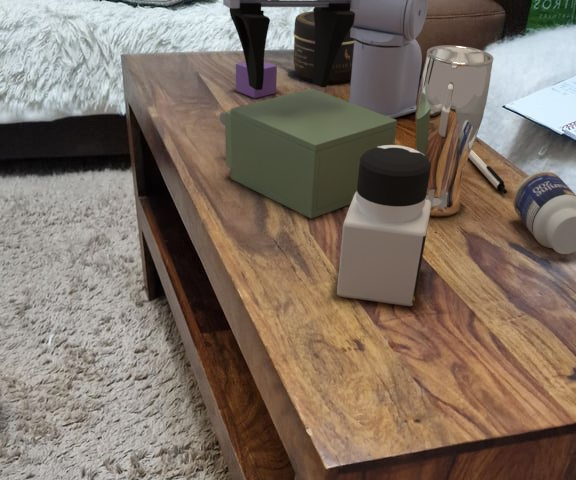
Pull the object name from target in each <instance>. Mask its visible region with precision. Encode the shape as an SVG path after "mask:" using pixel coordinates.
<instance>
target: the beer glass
mask: <svg viewBox="0 0 576 480" xmlns="http://www.w3.org/2000/svg"><path fill="white" fill-rule="evenodd" d="M493 62H494V56H493V55H492V54H491V53H489V52H486V51H484V50H482V49H478V48H476V47H475V48H474V47H471V46H470V47H469V46H465V45H451V44H450V45H449V44H447V45H436V46H432V47H429V48H428V49H427V51H426V57H425V60H424V65H423V68H422V73H421V76H420V77H421V78H420V81H419V86H418V92H417V99H416V112H415V118H414V119H415V120H414V126H415V127H414V145H415V146H414V149H415V150H417V151H419V152H421V153H422V154H424V155H425V156H426V157H427V158H428V159H429V161H430V163H431V171H430V177H429V183H428V189H427V195H426V200H430V201H431V211H430V216H429V217H448V216H452V215H455V214H456V213H458V212H459V210H460V207H461V188H462V187H461V186H462V181H463V180H462V179H463V176H464V171H465V168H466V165H467V162H468V161H469V160H468V159H469V154H470V152H471V149H472V150H473V147H474V143H475V141H476V139H477V136H478V133H479V131H480V127H481V125H482V121H483V118H484V114H485V110H486V107H487V101H488V96H489V91H490V85H491V78H492V77H491V76H492V70H493V69H492V68H493Z"/></svg>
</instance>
